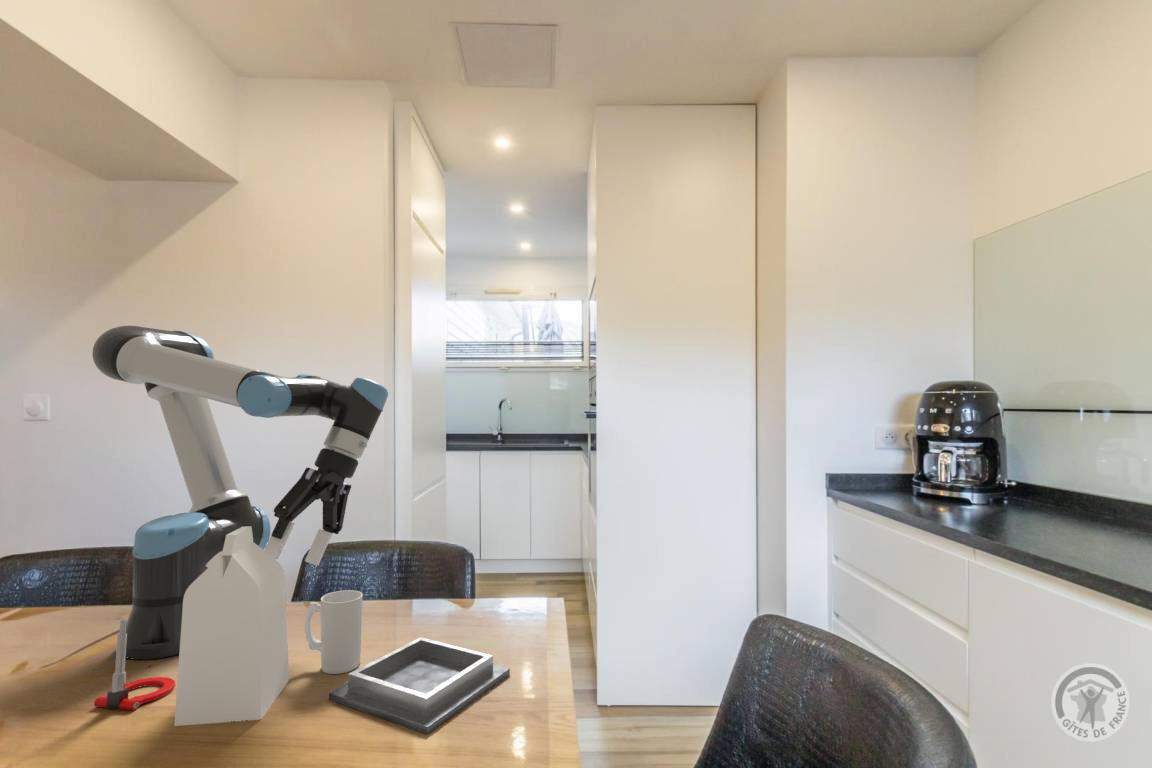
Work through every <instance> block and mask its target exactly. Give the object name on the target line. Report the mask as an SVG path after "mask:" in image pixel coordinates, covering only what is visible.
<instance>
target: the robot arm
mask: <svg viewBox="0 0 1152 768" xmlns="http://www.w3.org/2000/svg"><path fill="white" fill-rule="evenodd" d="M214 356H215V355H214V353H213V351H212V348H211V347H210V345H209V344H208V343H207V342H206V341H205V339H202V337H200V336H198V335H195V334H194V333H193V334H192V333H187V332H184V331H181V330H166V329H160V328H158V329H157V328H151V327H145V326H139V325H121V326H116V327H113V328H110V329H108V330H106V331H105V332H104V333H102V334H100V336H99V337H98V338H97V339H96V340H95V343H94V345H93V347H92V359H93V363H94V365H95V366H96V368H97V370H99V371H100V372H101V373H102V374H103V375H105V376H107V377H109V378H111V379H113V380H117V381H121V382H125V383H129V384H135V385H141V384H142V385H144V387H145V389H146V393H147V396H148V397H149V398H150V399H152V400H155V401H158V402H159V405H160V408H161V412H162V414H163V419H164V421H165V424H166V427H167V431H168V433H169V437H170V440H171V443H172V446H173V449H174V452H175V455H176V457H177V461H178V463H179V467H180V470H181V473H182V478H183V480H184V483H185V486H186V489H187V493H188V495H189V498H190V501H191V503H192V505H191V508H190V509H189V511H188V512H182V513H181V512H180V513H176V514H174V515H173V514H172V515H171V514H170V515H165V516H160V517H158V518H155V519H152V520H150V521H147V522H145V523H143V524H141V526H140V527H139V528H137V530H136V532H135V535H134V541H133V543H134V544H133V547H132V603H131V604H132V606H131V610H130V613H129V615H128V618H127V619H126V620H127V623H126V633H127V645H126V657H128V658H133V659H132V660H138V659H143V660H155V658H156V659H161V658H167V657H168V658H169V657H172V656H177V655H179V652H180V638H181V624H182V609H183V598H184V594H185V592H186V590H187V589H188V587H189V586H190V585H191V584H192V583H193V582H194V581H195V580H196V579H197V578H198V577H199V576H200V575H201V574H202V573H203V572H204V571H205V570H207V569H208V567H206V564H207V563H208V562H209V561H210V560H211V559H212V558H213V557H214V556H215V555H217V554H218V553H219V552H221V551H223V547H224V543H225V538H226V535H227V534H229V533H231V532H233V531H235V530H237V529H239V528H241V527H245V526H251V527H252V535H253V542H254V543H255V544H257V545H258V546H259V547H260V548H262V549H263V550H264V551H265V552H267V553H268V554H269V555H270V556H272V557H273V558H274V559H275V560H277V561H278V560H279V558H280V556H281V554H282V551H283V549H284V548H285V545H286V543H287V541H288V539H289V537H290V535H291V533H292V530H293V528H294V526H295V523H294V522H293V521H294V520H295V519H296V518H297V517H298V516H299V515H301V514H302V513H303V512H304V511H305V510H306V509H307V508H308V507H309V506H310V505H311V504H313V503H314V502H315V501H316V500H317V501H318V500H320V501H321V502H322V529H321V528H319V529H318V530H317V533H316V535H315V538H314V539H313V541H312V544H311V546H310V548H309V550H308V553H307V555H306V557H305V559H304V562H306V563H309V564H310V565H311V564H312V565H313V566H317V567H318V566H319V564H320V563H321V560H322V558H323V556H324V554H325V551H326V550H327V547H328V544H329V543H330V540H331V538H332V535H333V534H335V535H338V534H339V533H340V532H341V531H342V529H343V525H344V519H345V515H346V509H347V503H348V498H349V497H348V496H349V494H350V492H351V489H352V485H351V484H348V483H346V482H345V480H346V478H347V479H352V478H353V476H354V474H355V472H356V470H357V468H358V467H359V466H358V465H359V461H358V460H357V459H361V457H362V456H363V454H364V451H365V449H366V448H368V443H369V440H370V437H371V436H372V434H373V431H374V429H375V427H376V425H377V423H378V420H379V418H380V416H381V414H382V412H383V411H384V407H385V405H386V403H387V400H388V397H389V392H388V390H387V388H386V387H384V386H383V384H382V385H381V383H378V382H377V381H373V380H371V379H369V378H365V377H356V378H354V380H353V381H352V383H351V384H350V385H346V384H341V383H338V382H335V381H332V380H329V379H325V378H322V377H320V376H318V375H310V374H307V373H306V374H304V373H301V374H298V375H297V376H295V377H294V376H293V377H292V376H282V375H277V374H272V373H270V372H269V373H268V372H265V371H260V370H256V369H255V368H254V369H253V368H249V367H245V366H242V365H237V364H234V363H230V362H226V361H222V360H219V359H215V357H214ZM208 399H209V400H211V401H215V402H219V403H221V404H222V403H223V404H227V405H230V406H234V407H237V408H241V409H242V410H243V412H245V414H246V415H249V416H251V417H258V418H260V417H261V418H267V419H268V418H276V417H277V418H278V417H279V418H280V417H296V416H297V417H298V416H318V417H321V418H325V419H329V420H332V421H333V423H332V426H331V428H330V429H329V432H328V433H327V435H326V438H325V439H324V442H323V446H324V447H323V448H322V449H320V451H319V453H318V455H317V457H316V459H315V461H314V466H315V467H317V469H313V468H311V467H306V468H305V469H304V471H303V472H302V475H301V477H300V478H299V479H298V480H297V482H295V484H293V486H292V487H291V488H290V489H289V491H288V492H286V494H285V495H284V497H283V498H282V499H281V500H279V502H278V504H276V505H275V507H274V508H273V515H274V517H276V518H278V520H277V522H276V524H275V526H274V528H273V530H272V527H271V522H270V518H269V515H268V514H267V513H266V512H265V511H264V510H262V509H260V507H258V506H254V505H252V503H251V501H250V497H249V495H248V494H247V493H244V492H242V491H240V490H238V487H237V484H236V480H235V478H234V475H233V472H232V469H231V467H230V463H229V461H228V458H227V455H226V451H225V448H224V446H223V442H222V440H221V436H220V433H219V431H218V427H217V424H216V421H215V419H214V416H213V415H214V414H213V412H212V410H211V407H210V403H209V401H208ZM271 530H272V532H271ZM128 658H127V659H128Z"/></svg>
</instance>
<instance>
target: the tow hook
mask: <svg viewBox="0 0 1152 768" xmlns="http://www.w3.org/2000/svg"><path fill="white" fill-rule="evenodd" d="M127 620H128V619H127V618H126V619H120V620H119V633H118V634H117V638H116V651H115V664H114V673H112V678H111V679H112V680H111V690H109V691H107V695H105V696H102V695H100V696H97V697H96V698H95V700H94V703H93V705H94V707H97V708H98V707H99V708H105V709H108V710H116V709H122V710H124V711H125V710H126V711H133V710H135V709H137V708H138V709H139V707H140V706H141V705H142V704H146V703H149V702H153V701H156V700H159V699H162V698H163V697H165V696H167V695H169V694H170V693H172V692H173V691H174V690H173V689H175V688H176V681H175V680H174V679H173V678H170V677H167V676H154V677H146V678H140V679H136V680H133V681H132V680H131V681H129V682H126V681H127V671H126V670H125V669H126V659H127V658H126V645H127V633H126V623H127ZM144 685H150V686H159V685H161V686H160V687H161V688H159V689H157V690H155V691H152V692H149V693H146V694H141V695H136V696H133V697H130V698H129V691H131V690H130V689H132V690H134V689H133V688H135V689H137V688H136V687H139V686H143V687H145V686H144ZM162 686H163V687H162ZM174 687H175V688H174ZM139 688H140V687H139ZM138 709H137V710H138ZM135 711H136V710H135Z"/></svg>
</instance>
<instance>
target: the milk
mask: <svg viewBox="0 0 1152 768" xmlns="http://www.w3.org/2000/svg"><path fill="white" fill-rule="evenodd" d="M264 550H265V549H264ZM264 550H263V549H262V548H260V547H259V546H258V545H257V544H255V543H254V542H253V535H252V527H251V526H245V527H241V528H239V529H237V530H235V531H233V532H231V533H229V534H227V535H226V538H225V543H224V547H223V551H221V552H219V553H218V554H217V555H215V556H214V557H213V558H212V559H211V560H210V561H209V562H208V563H207V564H206V567H208V569H207V570H205V571H204V572H203V573H202V574H201V575H200V576H199V577H198V578H197V579H196V580H195V581H194V582H193V583H192V584H191V585H190V586H189V587H188V589H187V590H186V592H185V594H184V598H183V609H182V624H181V638H180V652H179V654H178V667H177V669H178V670H177V681H176V694H175V695H176V696H175V710H174V711H175V712H174V722H173V723H174V724H173V725H174V727H178V726H179V727H180V726H192V725H205V724H206V725H207V724H218V723H219V724H222V723H231V721H232V723H233V721H235V722H246V721H245V720H248V721H258V720H259V721H261V720H263V718H264V717H265V715H266V714H267V713H268V711H269V710H270V708H271V707H272V705H273V704H274V702H275V701H276V699H277V698H278V697H279V695H280V694H281V693H282V691H283V690H284V688H285V686H286V685H287V684H288V682H289V681H290V669H289V667H290V666H289V641H288V620H287V619H288V616H287V615H288V614H287V594H286V593H287V592H286V573H285V569H284V567H283V565H282V564H281V563H280V562H279V561H278V560H277V559H274V558H273V557H272V556H270V555H269V554H268V553H267V552H265V551H264ZM260 719H261V720H260ZM242 720H243V721H242Z"/></svg>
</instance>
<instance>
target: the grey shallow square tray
mask: <svg viewBox="0 0 1152 768" xmlns="http://www.w3.org/2000/svg"><path fill="white" fill-rule="evenodd" d="M510 671H511V669H510V668H509V667H506V666H502V665H499V664H494V655H492V654H487V653H484V652H481V651H477V650H472V649H469V648H465V647H460V646H458V645H452V644H449V643H445V642H441V641H438V640H435V639H434V640H433V639H429V638H427V637H422V636H420V637H417V638H416V639H415V640H412V641H409V643H406V644H404V645H402V646H400V647H398V648H397V649H394V650H393V651H390V652H389V653H386V654H384V655H383V656H381V657H378V658H376V659H375V660H373V661H371V662H369V663H366V664H365V665H363V666H361V667H359V668H356V669H354V670H352V671H350V672H349V673H348V674H347V675H348V676H347V681H348V682H346V683H344V684H342V685H340V686H339V687H337V688H335V689H333V690H331V691H329V692H328V694H327V695H328V698H327V699H328V700H329V701H333V702H335V703H338V704H341V705H344V706H346V707H348V708H352V709H355V710H357V711H360V712H363V713H366V714H369V715H372V716H374V717H376V718H380V719H382V720H386V721H387V722H391V723H393V724H397V725H399V726H402V727H405V728H408V729H411V730H414V731H416V732H419V733H421V734H424V735H429V734H430V733H432V732H433V731H434V730H436V729H437V728H438V727H440V726H441V725H442V724H444V723H445V722H446V721H448V720H449V719H452V718H453V716H454V715H457V713H459V712H460V711H462V710H463V709H465V707H467V706H468V705H470V704H471V703H473V702H474V701H476V700H477V699H478V698H480V697H481V696H483V695H484V694H485V693H487V692H488V691H490V689H492V688H493V687H494V686H496V685H498V684H499V683H500V682H501V681H503V680H505V678H508V676H510V673H511V672H510Z"/></svg>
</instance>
